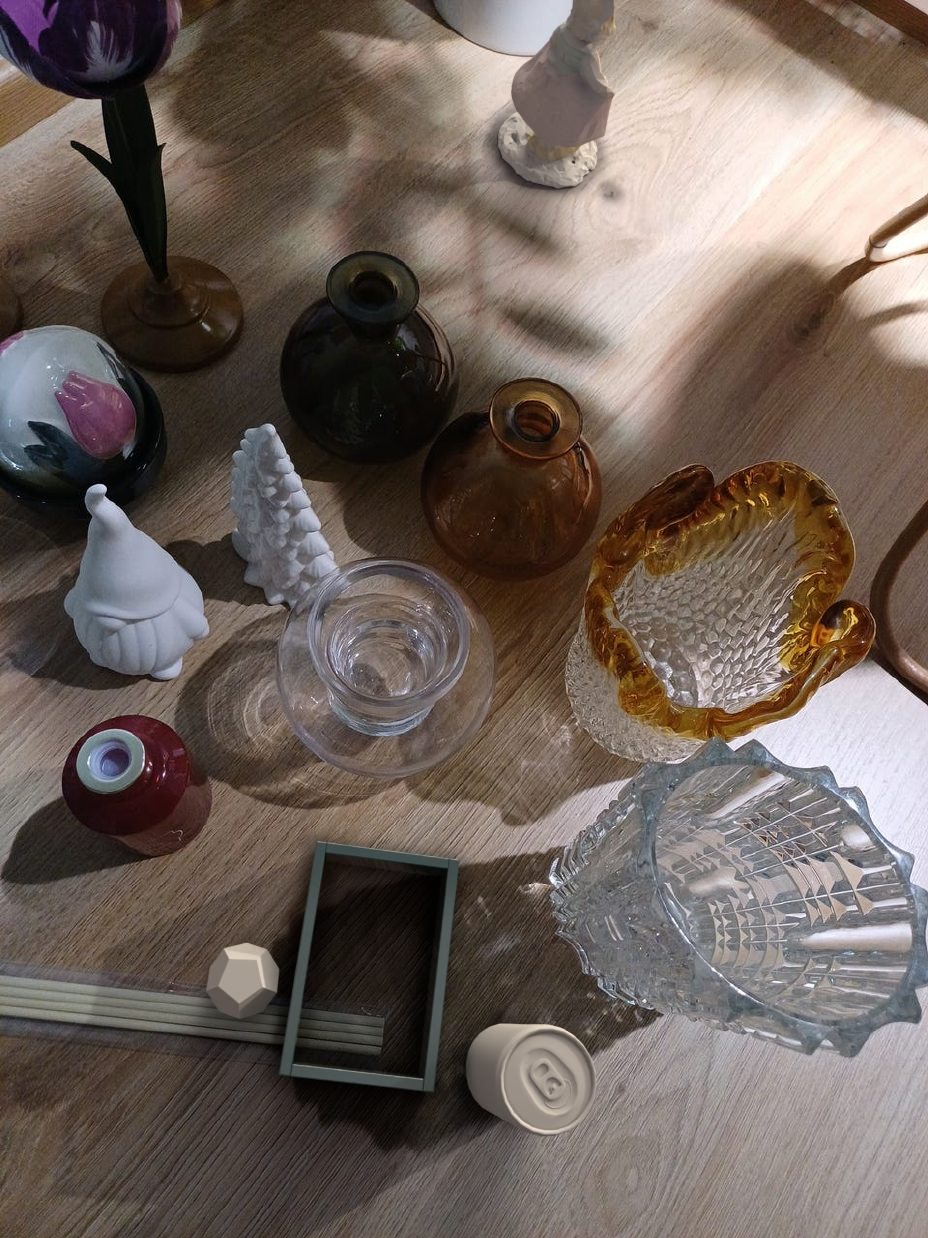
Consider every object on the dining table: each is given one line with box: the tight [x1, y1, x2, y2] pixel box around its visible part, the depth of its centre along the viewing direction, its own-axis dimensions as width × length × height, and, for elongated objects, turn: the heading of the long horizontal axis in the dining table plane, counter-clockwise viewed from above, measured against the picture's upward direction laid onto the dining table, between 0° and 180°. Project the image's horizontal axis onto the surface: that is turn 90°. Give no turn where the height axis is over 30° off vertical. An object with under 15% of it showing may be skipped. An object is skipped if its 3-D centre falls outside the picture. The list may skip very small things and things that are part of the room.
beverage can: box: [465, 1023, 598, 1138], centre depth 53 cm, size 5×5×12 cm
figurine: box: [497, 0, 617, 196], centre depth 78 cm, size 11×10×15 cm
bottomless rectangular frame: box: [278, 840, 460, 1093], centre depth 58 cm, size 12×8×4 cm
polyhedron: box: [205, 942, 280, 1020], centre depth 57 cm, size 4×4×3 cm
